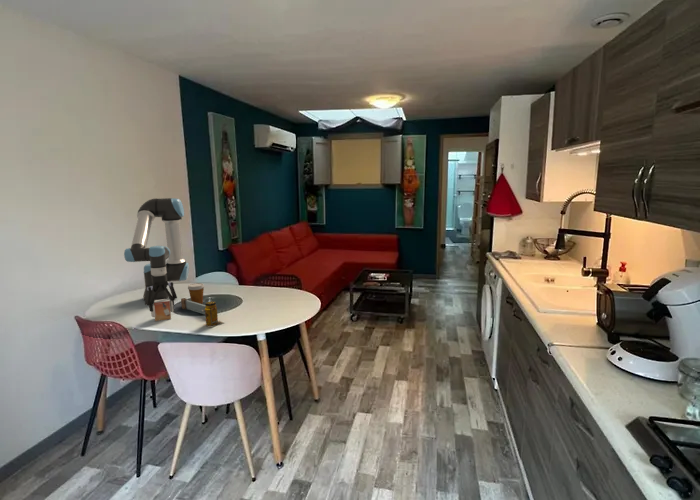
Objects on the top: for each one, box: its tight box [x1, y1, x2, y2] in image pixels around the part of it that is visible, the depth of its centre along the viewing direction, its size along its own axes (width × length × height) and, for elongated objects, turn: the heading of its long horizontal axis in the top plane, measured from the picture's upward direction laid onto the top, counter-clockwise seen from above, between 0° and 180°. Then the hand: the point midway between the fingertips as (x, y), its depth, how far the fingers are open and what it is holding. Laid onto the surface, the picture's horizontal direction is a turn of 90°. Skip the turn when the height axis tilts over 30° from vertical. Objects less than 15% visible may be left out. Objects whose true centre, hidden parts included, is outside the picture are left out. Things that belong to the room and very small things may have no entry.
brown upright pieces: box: [180, 297, 188, 310], centre depth 220 cm, size 29×2×6 cm, turn 55°
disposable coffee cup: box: [187, 282, 205, 304], centre depth 237 cm, size 10×10×12 cm
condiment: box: [202, 301, 224, 328], centre depth 202 cm, size 7×8×12 cm
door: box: [185, 299, 206, 315], centre depth 220 cm, size 21×2×6 cm, turn 55°
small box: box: [153, 297, 172, 322], centre depth 210 cm, size 8×6×10 cm
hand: (162, 314), depth 210 cm, fingers closed on small box, 9 cm apart
